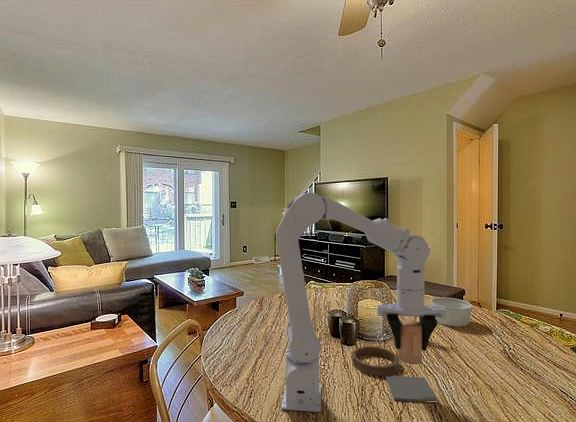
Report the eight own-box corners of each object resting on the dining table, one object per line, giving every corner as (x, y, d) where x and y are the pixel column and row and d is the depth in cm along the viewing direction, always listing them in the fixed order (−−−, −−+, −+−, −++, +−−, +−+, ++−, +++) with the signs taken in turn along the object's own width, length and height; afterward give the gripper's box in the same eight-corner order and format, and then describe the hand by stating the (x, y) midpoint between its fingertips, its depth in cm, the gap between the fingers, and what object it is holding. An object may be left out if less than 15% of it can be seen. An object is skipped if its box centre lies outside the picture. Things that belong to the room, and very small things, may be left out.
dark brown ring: (403, 376, 75) (403, 368, 75) (354, 373, 77) (354, 365, 77) (392, 354, 87) (392, 347, 87) (350, 352, 88) (350, 345, 88)
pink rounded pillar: (396, 353, 73) (396, 319, 73) (418, 354, 72) (418, 319, 72) (403, 367, 66) (403, 330, 66) (427, 369, 66) (428, 331, 66)
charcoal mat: (438, 403, 65) (438, 400, 65) (394, 400, 66) (394, 397, 66) (424, 379, 74) (424, 377, 74) (385, 377, 75) (385, 375, 75)
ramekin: (480, 329, 105) (480, 308, 105) (440, 328, 106) (440, 308, 105) (459, 315, 119) (459, 297, 118) (424, 315, 119) (424, 297, 119)
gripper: (437, 284, 73) (437, 341, 73) (374, 282, 75) (374, 338, 75) (449, 292, 66) (449, 356, 66) (379, 290, 68) (379, 352, 68)
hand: (410, 347), depth 70 cm, fingers closed on pink rounded pillar, 5 cm apart
